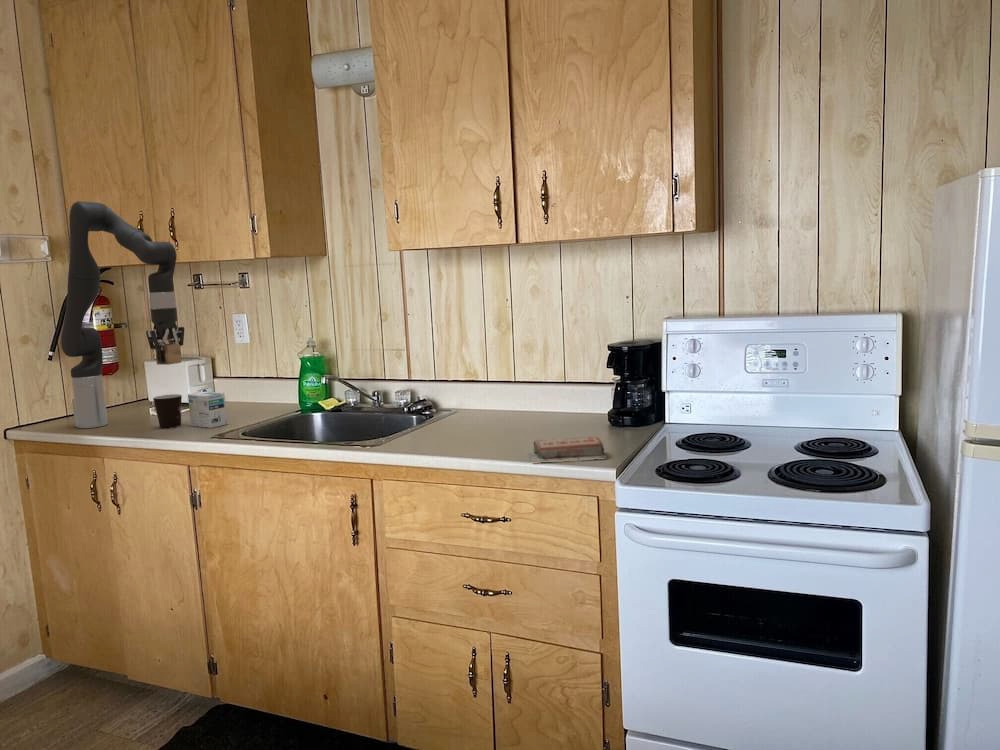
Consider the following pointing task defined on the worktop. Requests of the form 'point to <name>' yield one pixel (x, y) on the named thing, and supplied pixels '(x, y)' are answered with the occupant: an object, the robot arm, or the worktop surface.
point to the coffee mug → (168, 410)
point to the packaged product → (567, 449)
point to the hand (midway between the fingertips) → (168, 361)
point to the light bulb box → (207, 409)
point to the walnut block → (171, 354)
